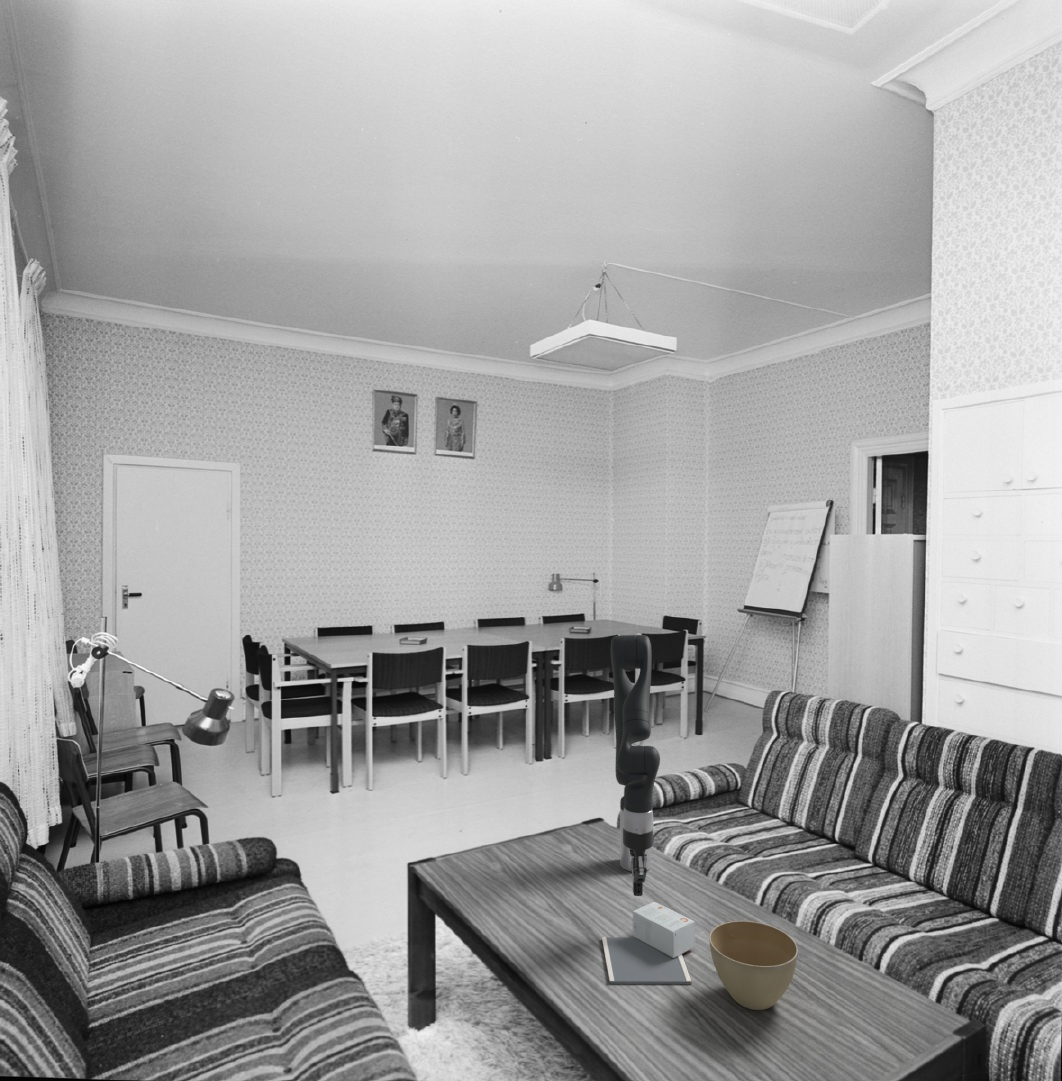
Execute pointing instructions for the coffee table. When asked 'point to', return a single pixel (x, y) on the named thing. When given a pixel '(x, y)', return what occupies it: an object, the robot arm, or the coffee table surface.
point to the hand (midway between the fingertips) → (637, 894)
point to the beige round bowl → (753, 962)
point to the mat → (641, 963)
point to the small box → (664, 929)
